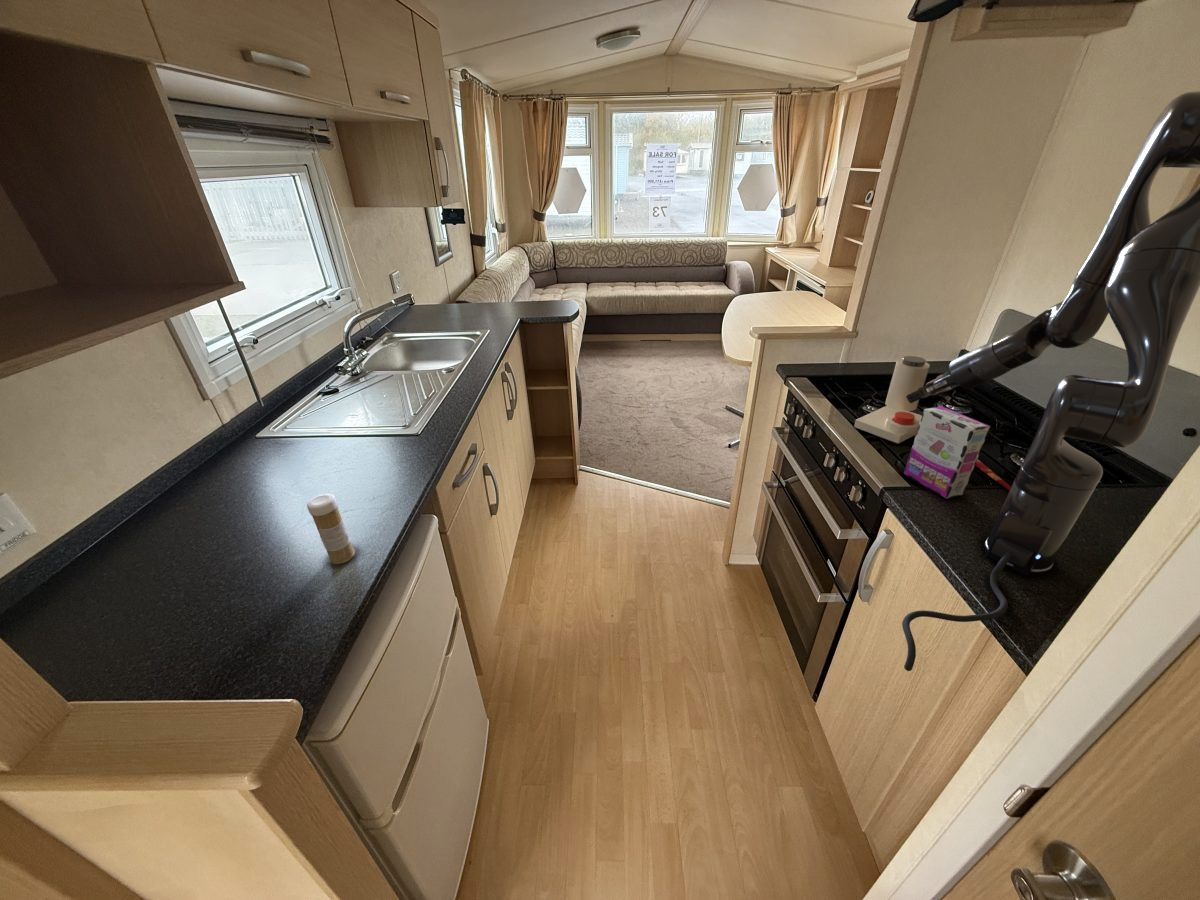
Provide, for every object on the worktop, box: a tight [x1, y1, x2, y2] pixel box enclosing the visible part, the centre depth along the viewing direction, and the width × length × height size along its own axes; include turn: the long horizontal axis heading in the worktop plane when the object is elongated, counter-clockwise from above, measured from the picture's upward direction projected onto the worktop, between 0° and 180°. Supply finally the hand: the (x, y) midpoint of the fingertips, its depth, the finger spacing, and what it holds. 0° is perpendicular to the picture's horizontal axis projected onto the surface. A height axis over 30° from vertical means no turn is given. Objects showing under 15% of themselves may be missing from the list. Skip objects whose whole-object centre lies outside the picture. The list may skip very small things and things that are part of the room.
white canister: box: [884, 355, 931, 412], centre depth 128 cm, size 8×8×13 cm
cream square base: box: [853, 405, 923, 444], centre depth 128 cm, size 16×13×4 cm
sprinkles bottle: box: [306, 493, 356, 565], centre depth 89 cm, size 5×5×14 cm
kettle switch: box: [893, 412, 915, 425], centre depth 123 cm, size 4×4×2 cm
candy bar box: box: [903, 405, 991, 499], centre depth 101 cm, size 11×5×16 cm, turn 17°
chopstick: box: [974, 458, 1012, 492], centre depth 108 cm, size 2×24×1 cm, turn 179°
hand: (909, 399), depth 120 cm, fingers closed
